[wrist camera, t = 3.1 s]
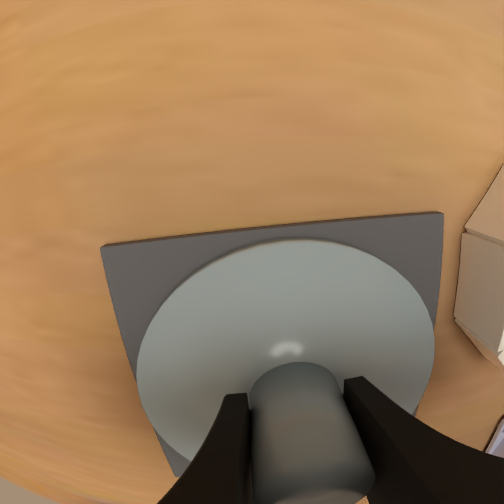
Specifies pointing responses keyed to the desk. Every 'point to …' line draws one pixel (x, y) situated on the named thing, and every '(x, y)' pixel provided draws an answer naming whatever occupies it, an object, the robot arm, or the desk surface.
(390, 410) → the robot arm
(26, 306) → the desk surface
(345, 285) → the lid
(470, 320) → the bowl
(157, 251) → the mat
